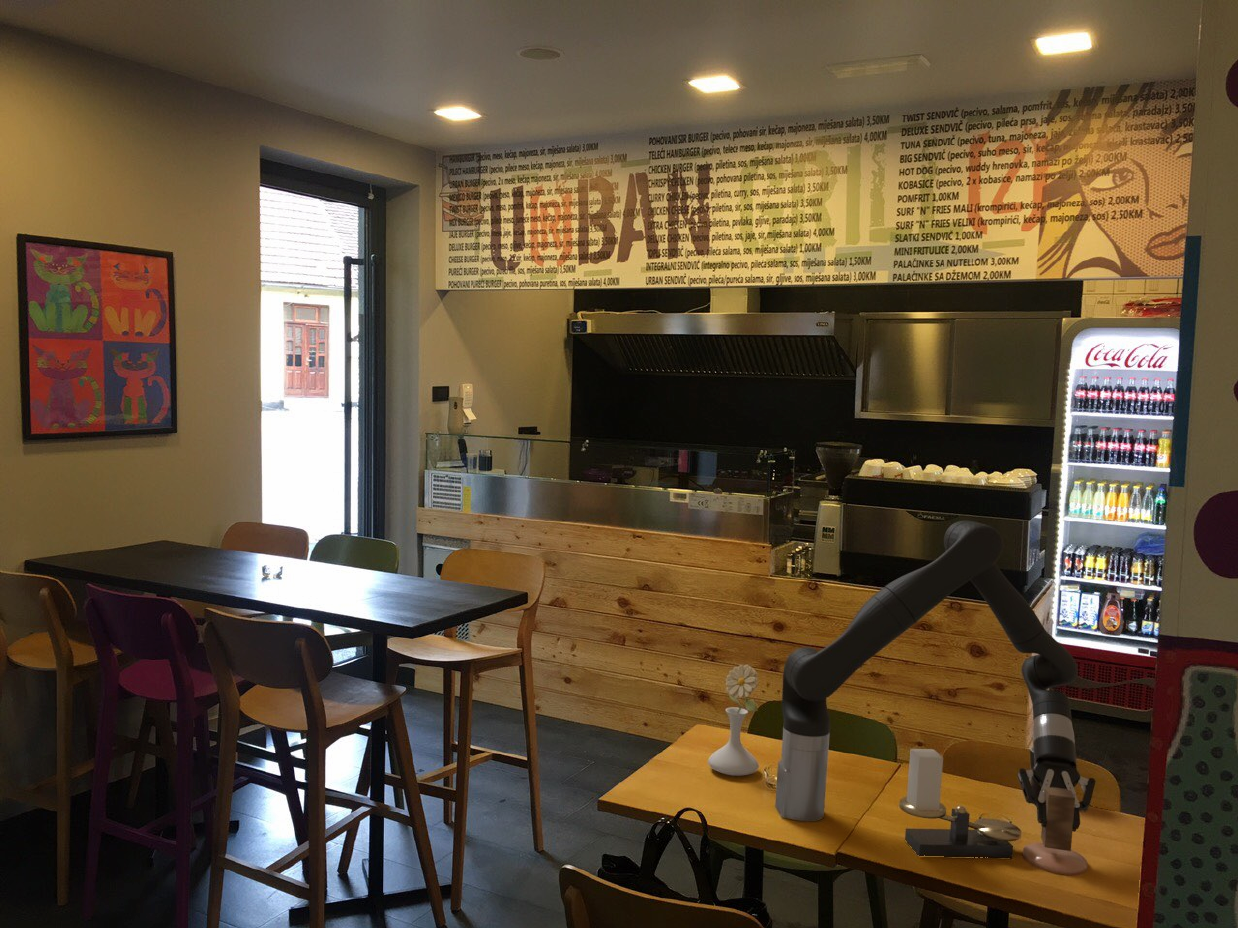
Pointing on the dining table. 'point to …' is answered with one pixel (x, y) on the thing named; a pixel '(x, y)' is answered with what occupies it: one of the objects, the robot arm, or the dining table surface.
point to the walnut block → (1058, 818)
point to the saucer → (1054, 859)
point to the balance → (960, 835)
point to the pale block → (924, 779)
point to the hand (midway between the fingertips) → (1059, 826)
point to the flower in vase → (737, 725)
